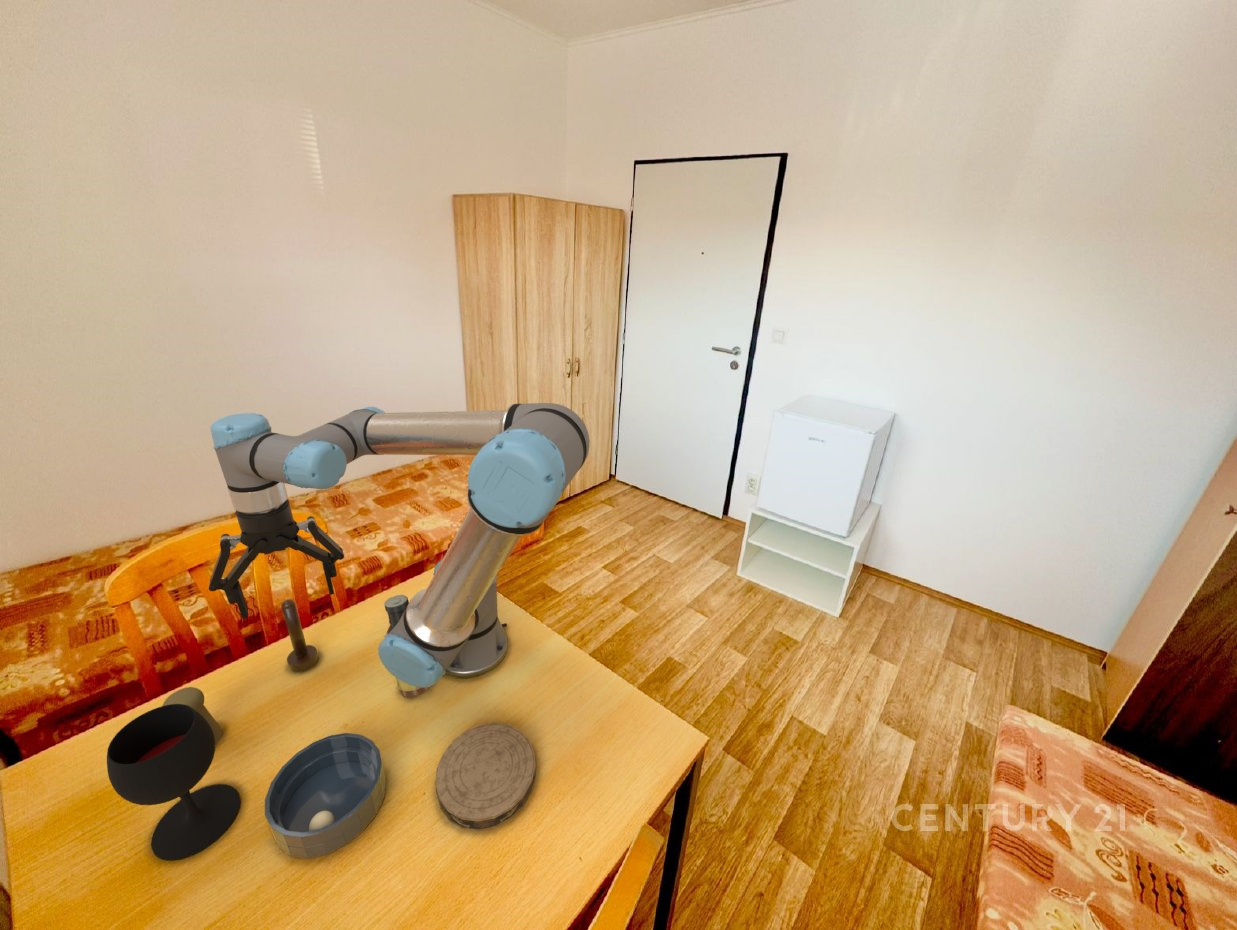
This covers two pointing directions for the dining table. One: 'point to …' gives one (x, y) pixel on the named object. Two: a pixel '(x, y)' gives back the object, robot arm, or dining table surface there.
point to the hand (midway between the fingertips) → (290, 602)
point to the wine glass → (173, 778)
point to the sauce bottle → (395, 611)
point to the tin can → (485, 776)
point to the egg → (321, 820)
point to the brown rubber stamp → (298, 641)
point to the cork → (195, 706)
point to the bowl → (325, 794)
